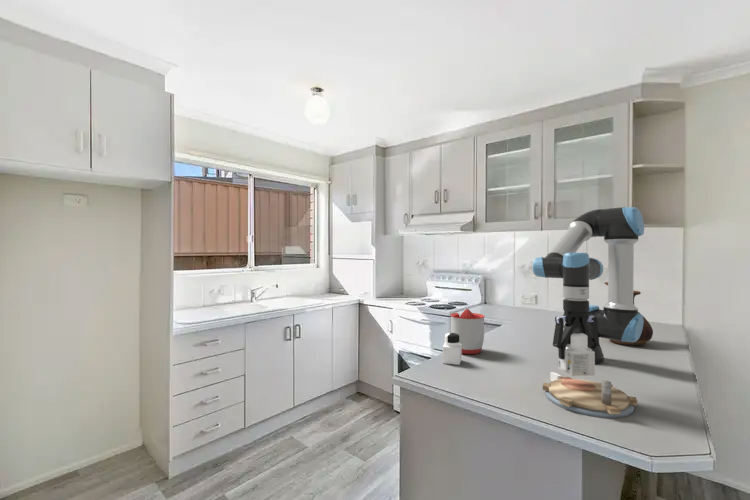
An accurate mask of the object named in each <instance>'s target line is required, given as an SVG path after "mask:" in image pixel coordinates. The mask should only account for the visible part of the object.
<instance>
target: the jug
mask: <svg viewBox="0 0 750 500" xmlns="http://www.w3.org/2000/svg"><path fill="white" fill-rule="evenodd" d="M604 284H605V286H608V281H605V282H604ZM641 293H642V292H641V291H639V290H633V304H634V306H636V305H635V297H636V296H638V295H641ZM638 313H640V312H639V311H638ZM643 319H644V323H643V329H642V333H641V335H640V337H639V339H638V340H637V341H636V342H625V341H624V342H622V341H619V340H613V339H609V340H610V342H613V343H615V344H618V345H623V346H642V345H644V344H646V343H647V342H650V340H652V339H653V334H654V330H653V327H652V325H651V324H650V322H649V321H648V320H647V319H646V317H645V316H644V315H643Z"/></svg>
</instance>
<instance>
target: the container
mask: <svg viewBox="0 0 750 500" xmlns="http://www.w3.org/2000/svg"><path fill="white" fill-rule="evenodd" d="M587 347H588V336H587V335H586V334H584V333H581V332H574V331H572V333H571V336H570V339H569V341H568V344H567V346H566V350H568V370H564V369H562V368H560V358H559V349H558V348H557V350H558V352H557V353H558V355H557V357H558V366H557V367H558V369H559V370H560V371H562V372H564V373H566V374H568V375H570V376H571V377H582V376H584V377H585V376H586V377H587V376H595V374H596V373H595V372H596V371H595V369H596V367H595V366H596V364H595V352H594V351H591V350H589V349H586V348H587Z"/></svg>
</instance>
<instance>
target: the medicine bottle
mask: <svg viewBox="0 0 750 500" xmlns="http://www.w3.org/2000/svg"><path fill="white" fill-rule="evenodd" d="M462 355H463V354H462V347H461V344H459V335H458V334H456V333H451V332H447V333H445V335H444V343H443V346H442V364H447V365H456V366H460V365H461V362H462V361H463V360H462Z"/></svg>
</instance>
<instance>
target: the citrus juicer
mask: <svg viewBox="0 0 750 500" xmlns="http://www.w3.org/2000/svg"><path fill="white" fill-rule="evenodd" d="M450 333H456V334H458V335H459V344H461V347H462V355H463V354H464V355H475V354H476V355H478V354H479V353H481V352H482V350H483V345H484V340H485V315H484V314H481V313H476V312H472V311H471V310H470V309H469V308H466V309H465V310H463V311H462V313H461V314H460V313H458V312H453V313H451V314H450Z"/></svg>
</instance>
